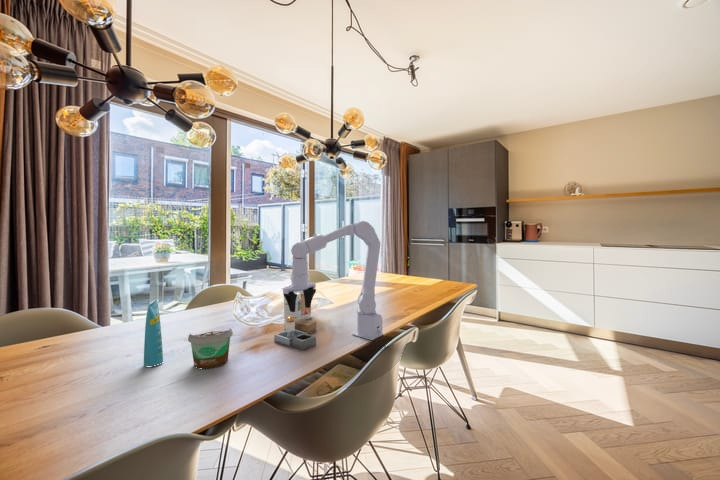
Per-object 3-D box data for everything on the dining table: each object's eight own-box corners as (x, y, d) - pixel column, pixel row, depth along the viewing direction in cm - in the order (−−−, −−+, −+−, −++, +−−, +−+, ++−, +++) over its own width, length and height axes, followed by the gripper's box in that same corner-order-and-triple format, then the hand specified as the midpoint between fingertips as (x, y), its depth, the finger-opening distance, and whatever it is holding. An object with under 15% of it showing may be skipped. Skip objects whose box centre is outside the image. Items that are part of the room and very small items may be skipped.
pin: (296, 339, 110) (296, 317, 109) (288, 340, 108) (288, 318, 108) (292, 336, 112) (292, 315, 112) (285, 338, 110) (284, 317, 110)
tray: (307, 339, 111) (307, 333, 111) (289, 346, 104) (289, 339, 104) (292, 334, 116) (292, 328, 116) (274, 341, 109) (274, 334, 109)
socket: (315, 345, 106) (315, 336, 105) (303, 350, 101) (302, 341, 101) (304, 341, 109) (304, 333, 109) (291, 346, 104) (291, 337, 104)
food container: (187, 374, 84) (186, 339, 83) (188, 366, 89) (187, 333, 89) (234, 365, 89) (234, 332, 89) (233, 358, 95) (232, 326, 94)
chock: (316, 330, 121) (316, 321, 121) (307, 335, 116) (307, 325, 116) (301, 328, 124) (301, 319, 124) (293, 332, 119) (293, 323, 119)
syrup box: (298, 330, 122) (297, 294, 121) (283, 329, 122) (283, 294, 121) (301, 325, 127) (301, 292, 127) (287, 325, 128) (287, 291, 127)
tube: (161, 367, 88) (159, 303, 87) (141, 371, 86) (139, 304, 85) (164, 358, 95) (163, 298, 94) (146, 360, 93) (145, 299, 92)
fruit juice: (295, 321, 133) (294, 259, 132) (287, 316, 140) (287, 257, 140) (314, 318, 138) (314, 258, 137) (306, 313, 146) (305, 256, 145)
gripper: (307, 271, 122) (307, 304, 122) (277, 275, 110) (278, 311, 111) (319, 272, 117) (319, 306, 118) (290, 277, 106) (290, 315, 106)
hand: (300, 309), depth 114 cm, fingers open, 7 cm apart
